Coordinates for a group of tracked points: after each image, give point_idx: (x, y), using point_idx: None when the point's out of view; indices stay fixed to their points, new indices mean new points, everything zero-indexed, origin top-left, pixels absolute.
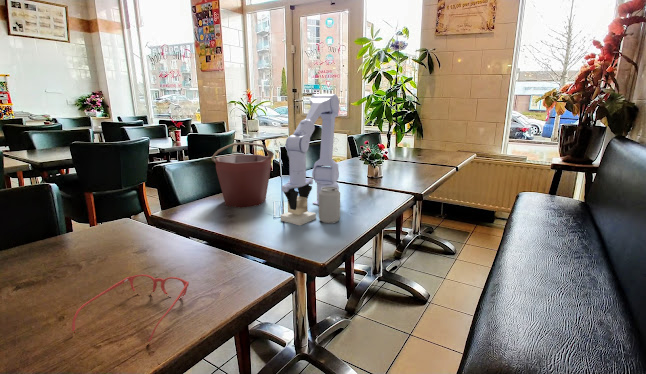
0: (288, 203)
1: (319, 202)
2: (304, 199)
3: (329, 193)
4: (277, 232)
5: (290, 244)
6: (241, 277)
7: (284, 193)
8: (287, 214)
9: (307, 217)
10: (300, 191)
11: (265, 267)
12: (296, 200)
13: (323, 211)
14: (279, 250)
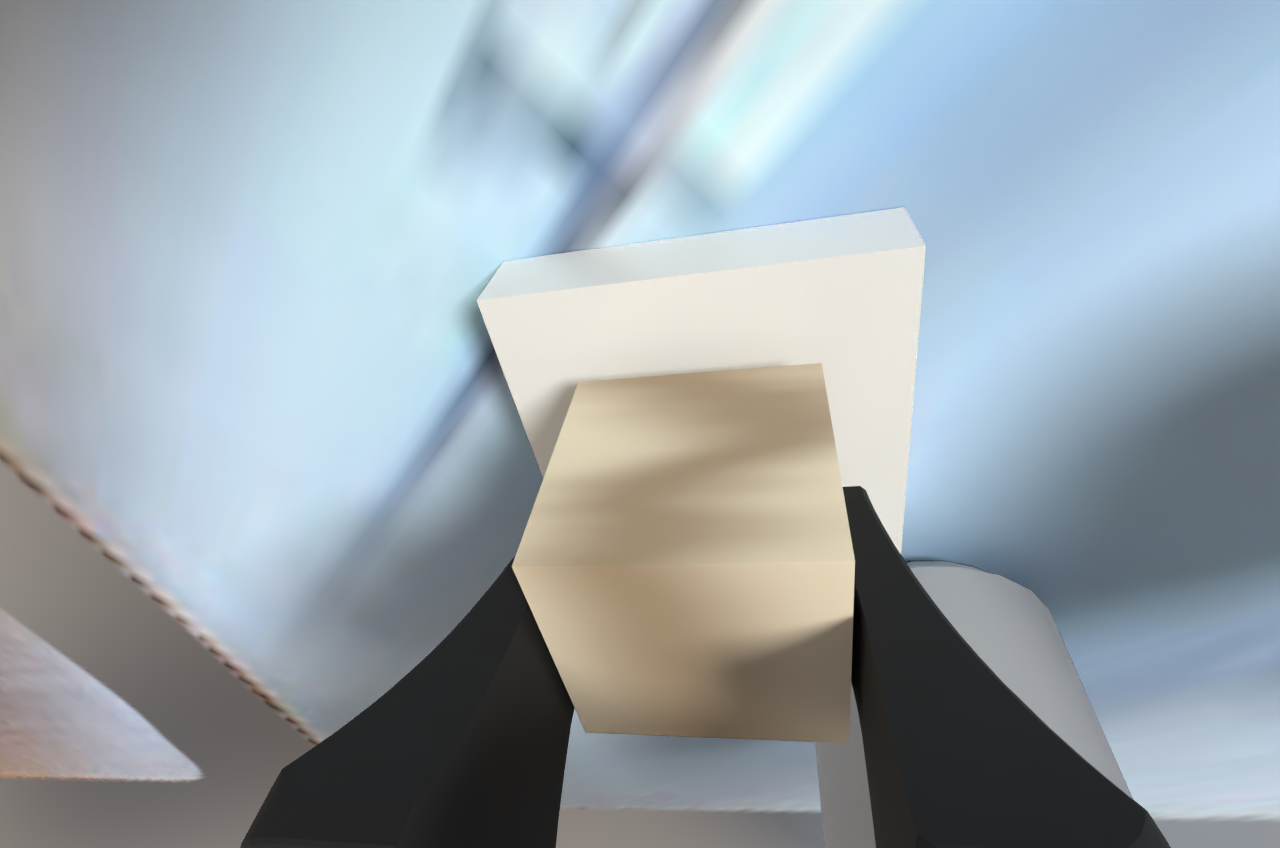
0: (544, 506)
1: (859, 812)
2: (759, 727)
3: None
4: (316, 497)
5: (332, 662)
6: (14, 698)
7: (325, 744)
8: (578, 357)
9: None
10: (882, 755)
11: (130, 709)
12: (565, 725)
13: (816, 749)
14: (239, 665)
